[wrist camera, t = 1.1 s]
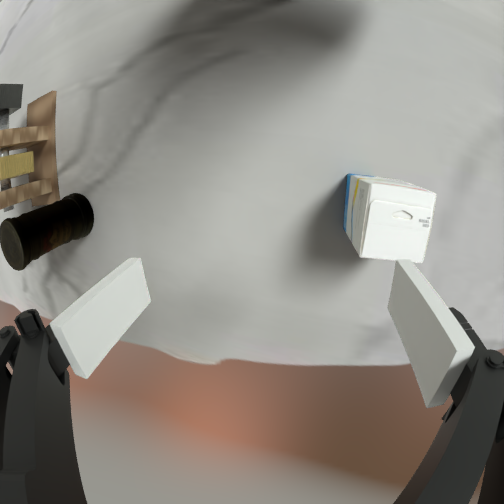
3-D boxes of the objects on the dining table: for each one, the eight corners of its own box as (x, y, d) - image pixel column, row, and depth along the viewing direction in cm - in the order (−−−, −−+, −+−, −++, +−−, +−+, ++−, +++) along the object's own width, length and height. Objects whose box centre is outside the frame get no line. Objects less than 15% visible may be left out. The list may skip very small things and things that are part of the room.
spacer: (14, 159, 36) (-16, 166, 29) (33, 151, 35) (-1, 157, 28) (15, 177, 38) (-15, 185, 30) (34, 171, 37) (1, 179, 29)
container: (65, 231, 47) (2, 264, 30) (64, 189, 43) (-5, 213, 27) (94, 241, 46) (29, 281, 30) (95, 196, 43) (20, 224, 26)
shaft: (11, 92, 29) (-10, 93, 23) (23, 84, 28) (0, 83, 23) (14, 206, 38) (-7, 215, 32) (25, 205, 37) (2, 213, 32)
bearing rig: (31, 104, 37) (-19, 107, 24) (56, 91, 36) (1, 88, 22) (35, 205, 46) (-13, 224, 32) (60, 202, 45) (5, 222, 31)
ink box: (341, 229, 39) (357, 260, 28) (346, 172, 35) (367, 181, 25) (394, 234, 37) (424, 265, 27) (401, 179, 34) (438, 192, 24)
